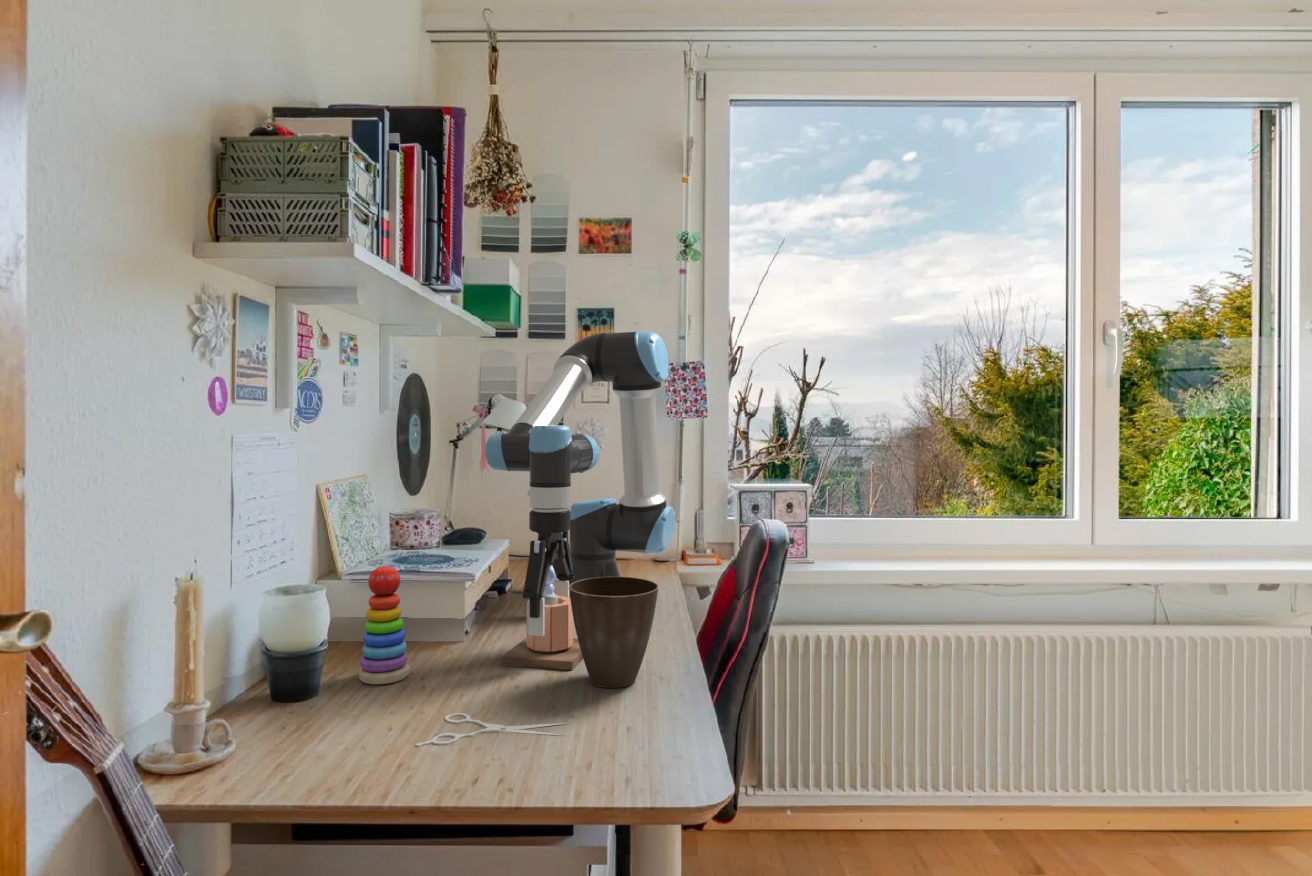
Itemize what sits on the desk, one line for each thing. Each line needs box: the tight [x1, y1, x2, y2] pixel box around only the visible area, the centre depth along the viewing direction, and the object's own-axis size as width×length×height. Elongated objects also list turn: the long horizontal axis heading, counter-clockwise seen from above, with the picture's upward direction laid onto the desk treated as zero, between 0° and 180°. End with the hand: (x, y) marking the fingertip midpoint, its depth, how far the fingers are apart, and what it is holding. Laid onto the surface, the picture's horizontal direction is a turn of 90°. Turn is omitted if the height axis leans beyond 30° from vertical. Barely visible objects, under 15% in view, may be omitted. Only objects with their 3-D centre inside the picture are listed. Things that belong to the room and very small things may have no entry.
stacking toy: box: [358, 565, 410, 685], centre depth 123 cm, size 8×8×19 cm
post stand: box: [501, 594, 583, 671], centre depth 135 cm, size 13×13×11 cm
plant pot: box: [569, 576, 659, 689], centre depth 123 cm, size 15×15×16 cm
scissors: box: [415, 712, 568, 748], centre depth 103 cm, size 11×1×20 cm
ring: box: [526, 596, 574, 652], centre depth 135 cm, size 8×8×8 cm
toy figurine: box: [543, 565, 559, 595], centre depth 162 cm, size 7×6×12 cm
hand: (549, 624), depth 135 cm, fingers open, 13 cm apart
